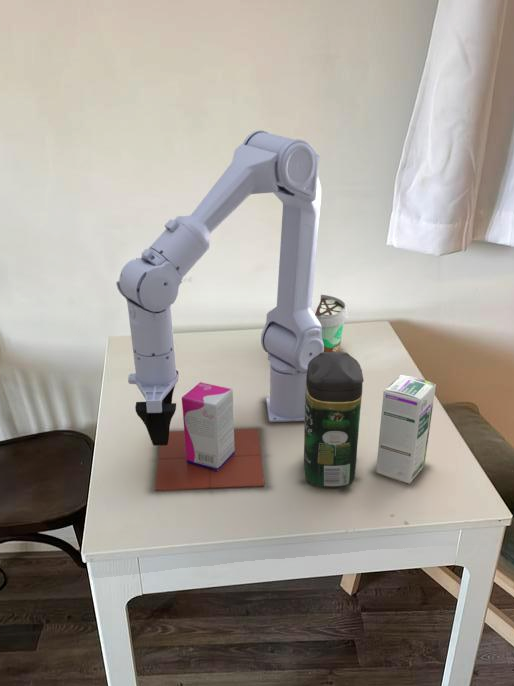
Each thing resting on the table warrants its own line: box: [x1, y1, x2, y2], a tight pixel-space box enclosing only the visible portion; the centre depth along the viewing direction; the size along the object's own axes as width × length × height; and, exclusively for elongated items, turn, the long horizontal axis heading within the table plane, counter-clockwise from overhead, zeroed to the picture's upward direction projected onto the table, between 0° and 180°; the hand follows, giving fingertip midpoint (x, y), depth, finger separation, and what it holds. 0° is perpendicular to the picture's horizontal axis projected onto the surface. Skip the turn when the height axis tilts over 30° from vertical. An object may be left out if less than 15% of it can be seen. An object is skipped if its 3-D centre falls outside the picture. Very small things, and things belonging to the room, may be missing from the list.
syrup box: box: [375, 374, 436, 485], centre depth 102 cm, size 6×6×14 cm
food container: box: [314, 294, 349, 352], centre depth 136 cm, size 12×6×10 cm, turn 168°
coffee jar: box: [303, 351, 364, 489], centre depth 100 cm, size 10×8×19 cm
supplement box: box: [181, 381, 235, 471], centre depth 105 cm, size 6×6×12 cm
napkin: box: [155, 428, 265, 492], centre depth 108 cm, size 16×16×1 cm
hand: (161, 430), depth 105 cm, fingers open, 7 cm apart
